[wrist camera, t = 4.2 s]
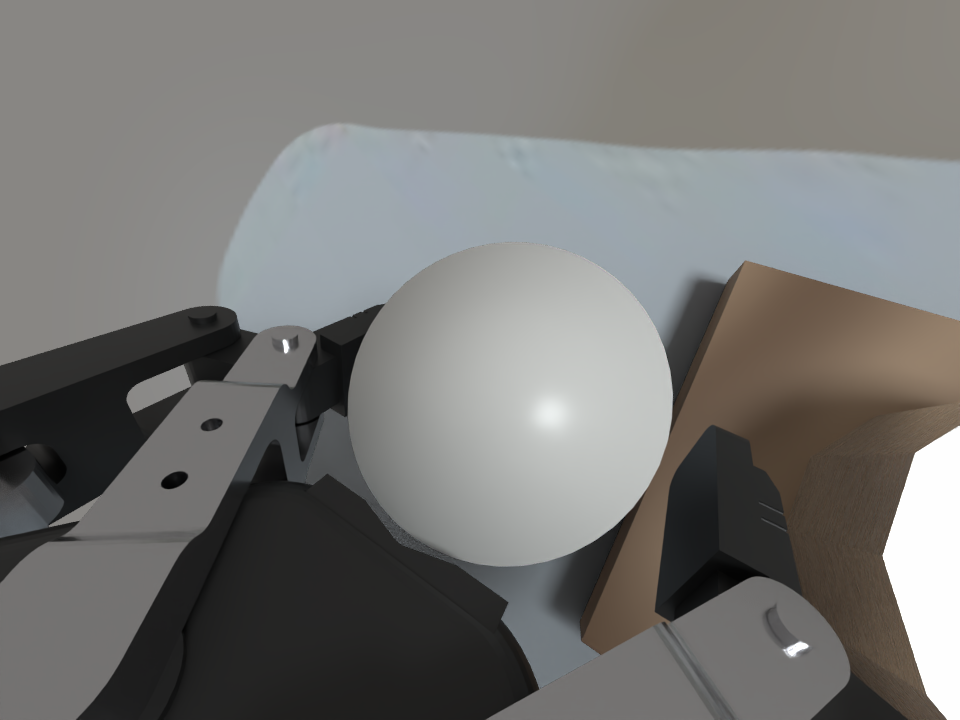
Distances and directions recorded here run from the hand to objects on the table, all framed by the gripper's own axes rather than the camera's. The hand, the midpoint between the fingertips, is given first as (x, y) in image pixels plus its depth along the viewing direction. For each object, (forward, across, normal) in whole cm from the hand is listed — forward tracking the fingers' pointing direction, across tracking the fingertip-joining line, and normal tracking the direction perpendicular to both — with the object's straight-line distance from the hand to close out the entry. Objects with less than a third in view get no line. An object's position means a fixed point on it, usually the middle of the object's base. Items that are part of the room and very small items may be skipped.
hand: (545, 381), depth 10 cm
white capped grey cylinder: (+3, 0, +4) cm, 5 cm away
